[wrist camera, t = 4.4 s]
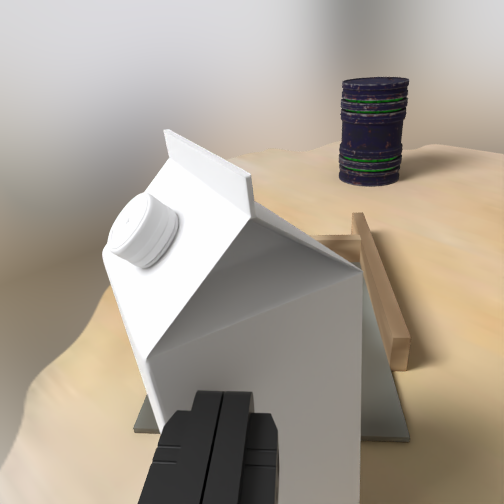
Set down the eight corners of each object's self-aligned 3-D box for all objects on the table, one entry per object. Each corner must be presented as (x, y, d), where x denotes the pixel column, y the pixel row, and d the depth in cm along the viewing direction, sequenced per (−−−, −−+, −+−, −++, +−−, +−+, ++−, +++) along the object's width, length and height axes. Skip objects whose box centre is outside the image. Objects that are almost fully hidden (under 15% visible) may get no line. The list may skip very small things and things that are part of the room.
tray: (361, 235, 50) (363, 212, 49) (430, 442, 25) (437, 406, 24) (202, 238, 52) (199, 215, 51) (116, 431, 27) (106, 398, 26)
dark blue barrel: (362, 190, 64) (369, 86, 57) (326, 174, 72) (328, 81, 65) (413, 179, 68) (425, 79, 61) (373, 165, 76) (379, 75, 69)
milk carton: (286, 427, 26) (250, 111, 17) (361, 534, 20) (367, 142, 11) (177, 484, 24) (66, 150, 14) (226, 623, 18) (94, 217, 9)
